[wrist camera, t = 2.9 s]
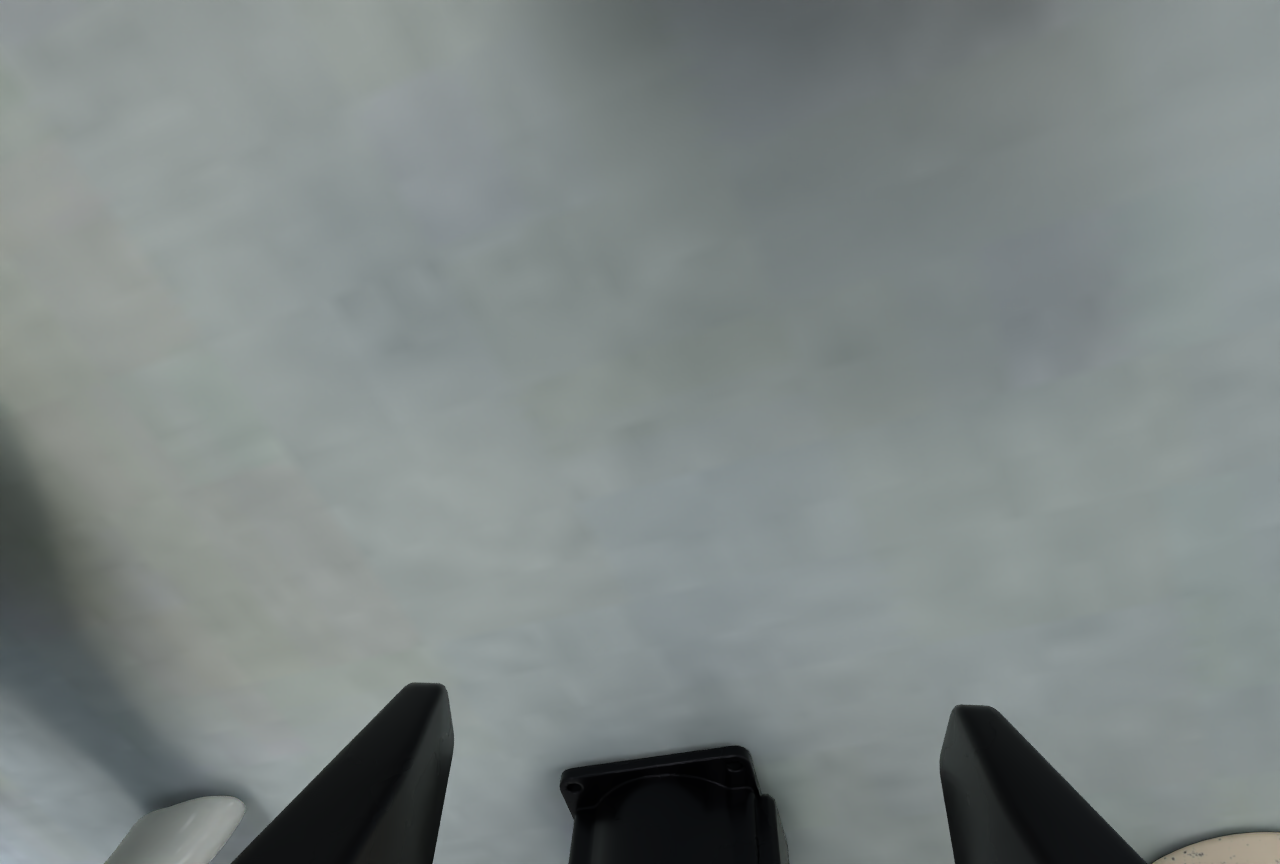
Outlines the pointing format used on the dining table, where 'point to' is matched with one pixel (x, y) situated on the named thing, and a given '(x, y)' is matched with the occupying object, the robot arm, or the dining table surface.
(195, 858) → the spoon rest
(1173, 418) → the dining table surface
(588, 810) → the robot arm
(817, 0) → the dining table surface
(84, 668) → the dining table surface
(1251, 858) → the teacup with lid
